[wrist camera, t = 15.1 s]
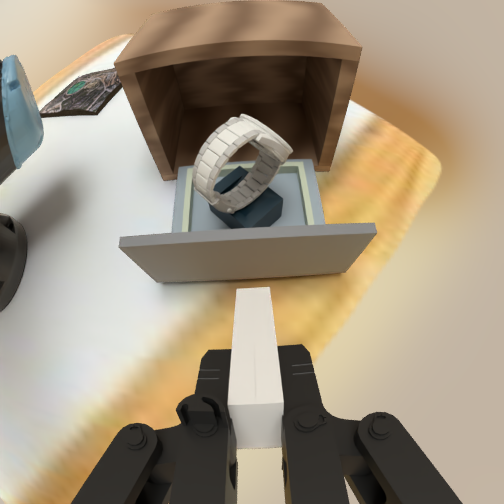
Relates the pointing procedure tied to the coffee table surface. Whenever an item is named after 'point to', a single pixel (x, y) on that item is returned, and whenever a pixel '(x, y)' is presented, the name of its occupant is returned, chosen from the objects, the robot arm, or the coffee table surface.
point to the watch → (241, 174)
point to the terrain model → (84, 95)
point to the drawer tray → (250, 235)
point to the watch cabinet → (240, 77)
